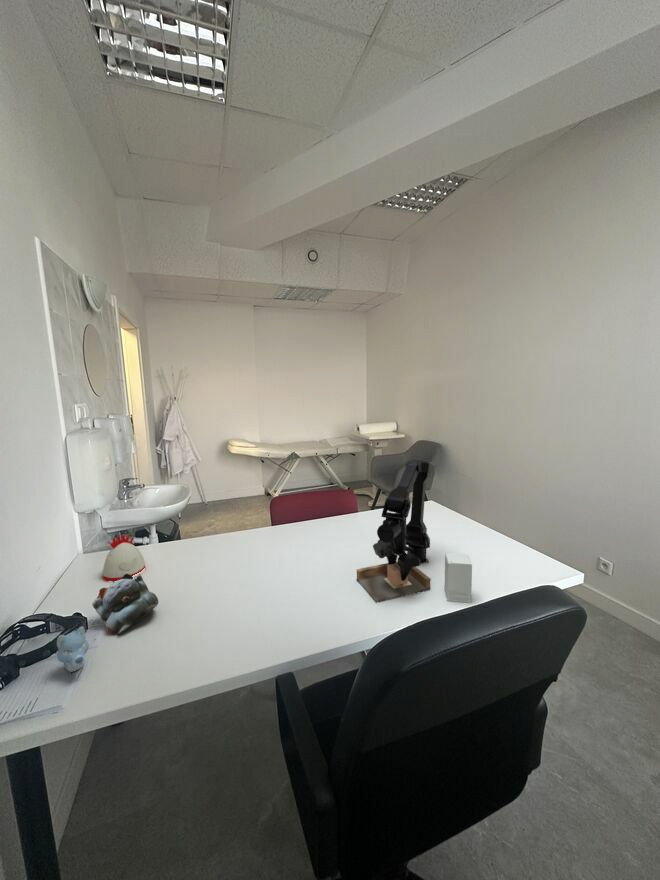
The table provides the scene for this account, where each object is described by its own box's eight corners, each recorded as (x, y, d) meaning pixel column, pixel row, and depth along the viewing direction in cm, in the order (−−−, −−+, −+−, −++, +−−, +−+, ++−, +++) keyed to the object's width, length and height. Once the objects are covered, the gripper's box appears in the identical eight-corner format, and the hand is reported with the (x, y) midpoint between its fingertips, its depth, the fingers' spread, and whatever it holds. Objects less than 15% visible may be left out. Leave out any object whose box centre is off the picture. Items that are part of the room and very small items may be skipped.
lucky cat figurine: (105, 642, 96) (83, 595, 97) (109, 635, 107) (89, 593, 107) (162, 608, 104) (141, 565, 105) (160, 604, 114) (141, 565, 115)
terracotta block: (387, 578, 124) (387, 565, 124) (400, 576, 126) (400, 562, 125) (394, 585, 120) (394, 571, 119) (407, 582, 121) (407, 568, 121)
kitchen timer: (98, 573, 135) (94, 535, 133) (137, 560, 145) (134, 525, 143) (110, 586, 126) (105, 545, 124) (151, 571, 136) (147, 533, 134)
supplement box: (471, 603, 111) (472, 564, 109) (446, 601, 112) (447, 562, 111) (467, 590, 118) (468, 554, 116) (444, 588, 119) (444, 552, 118)
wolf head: (66, 688, 81) (60, 648, 80) (56, 669, 87) (52, 631, 86) (97, 672, 86) (93, 634, 85) (86, 655, 92) (82, 619, 90)
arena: (406, 569, 133) (406, 559, 132) (430, 589, 119) (430, 578, 118) (356, 580, 126) (356, 569, 126) (376, 602, 112) (376, 590, 112)
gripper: (364, 525, 127) (364, 567, 129) (390, 546, 109) (390, 594, 111) (391, 521, 130) (391, 562, 132) (421, 540, 113) (420, 587, 115)
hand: (397, 575), depth 123 cm, fingers open, 7 cm apart
